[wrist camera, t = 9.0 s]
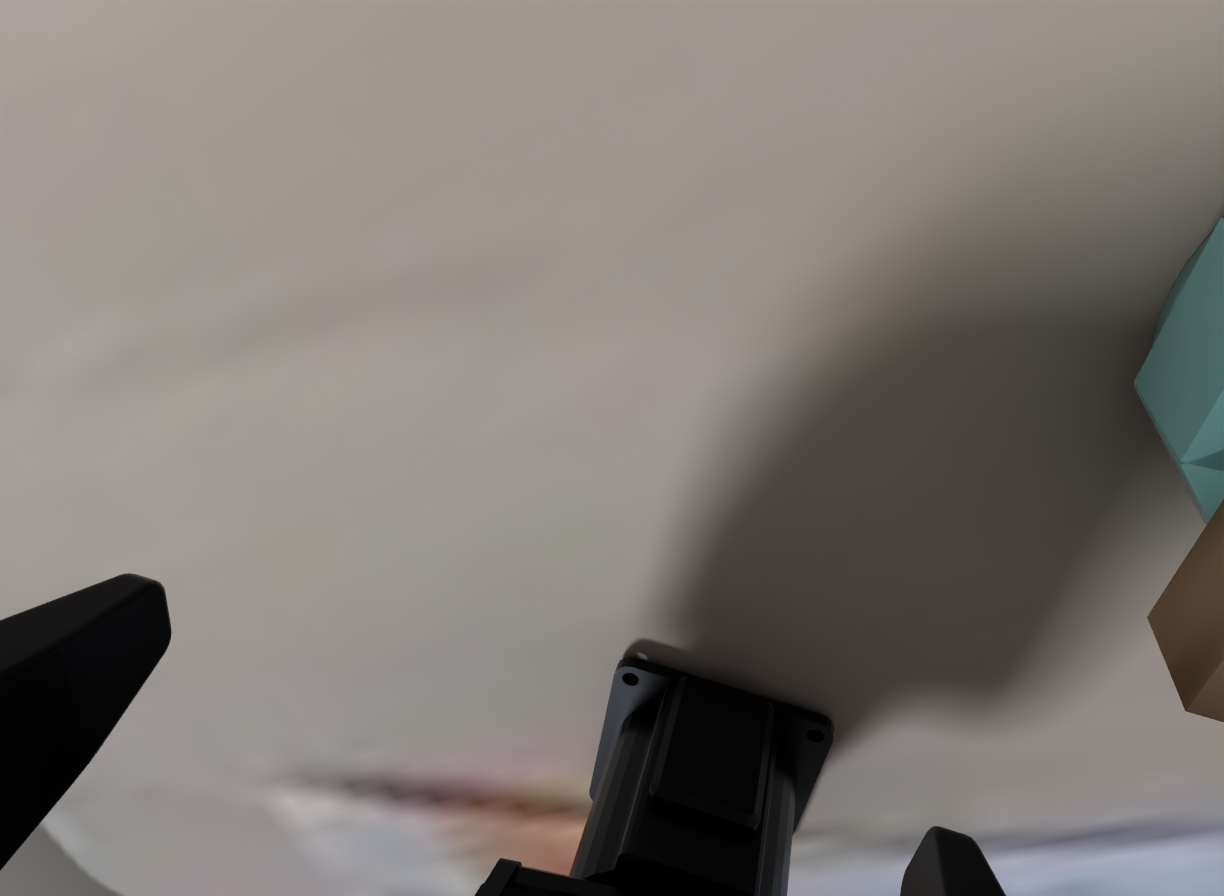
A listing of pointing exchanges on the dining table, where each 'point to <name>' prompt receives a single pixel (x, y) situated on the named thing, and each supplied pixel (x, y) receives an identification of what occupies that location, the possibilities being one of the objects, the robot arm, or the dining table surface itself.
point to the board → (1196, 623)
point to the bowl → (1191, 375)
